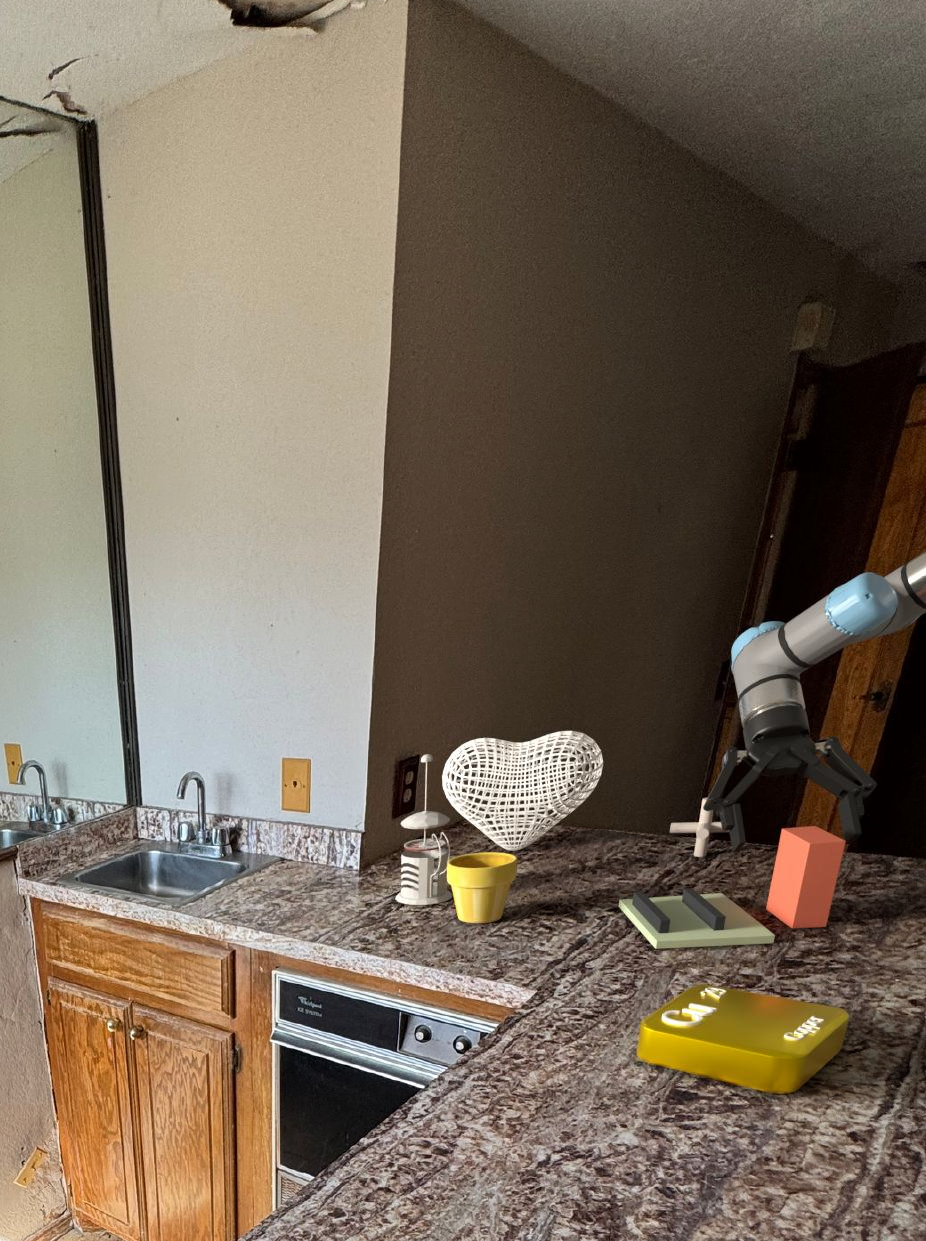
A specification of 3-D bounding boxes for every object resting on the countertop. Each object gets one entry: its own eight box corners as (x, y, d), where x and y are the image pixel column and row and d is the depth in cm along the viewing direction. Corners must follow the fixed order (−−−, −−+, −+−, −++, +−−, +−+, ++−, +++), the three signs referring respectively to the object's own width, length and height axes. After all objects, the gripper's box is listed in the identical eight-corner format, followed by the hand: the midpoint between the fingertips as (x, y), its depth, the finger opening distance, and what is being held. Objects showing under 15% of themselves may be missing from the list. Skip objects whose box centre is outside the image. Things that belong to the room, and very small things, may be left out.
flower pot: (448, 908, 153) (450, 852, 149) (515, 907, 148) (518, 849, 144) (442, 927, 145) (444, 869, 141) (512, 927, 140) (516, 867, 136)
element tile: (789, 1099, 87) (799, 1056, 85) (628, 1059, 99) (633, 1020, 96) (847, 1046, 94) (858, 1005, 92) (690, 1014, 106) (696, 977, 104)
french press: (434, 885, 165) (438, 746, 155) (469, 900, 155) (476, 752, 144) (385, 895, 165) (385, 756, 154) (417, 910, 154) (420, 763, 143)
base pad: (720, 900, 137) (724, 880, 136) (773, 943, 120) (778, 921, 119) (618, 906, 141) (620, 887, 140) (655, 949, 124) (658, 927, 123)
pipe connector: (664, 862, 157) (672, 805, 153) (669, 848, 164) (676, 793, 160) (733, 862, 151) (743, 803, 147) (735, 847, 158) (745, 791, 154)
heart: (594, 838, 177) (606, 721, 168) (593, 858, 166) (607, 734, 156) (445, 843, 191) (448, 735, 181) (434, 862, 179) (438, 748, 169)
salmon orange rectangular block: (798, 907, 130) (815, 825, 125) (826, 926, 122) (846, 840, 117) (765, 909, 131) (781, 828, 126) (791, 928, 123) (809, 843, 118)
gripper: (862, 725, 132) (888, 849, 126) (669, 745, 139) (685, 863, 133) (889, 690, 125) (919, 820, 119) (685, 714, 133) (703, 837, 126)
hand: (795, 843), depth 126 cm, fingers open, 13 cm apart
